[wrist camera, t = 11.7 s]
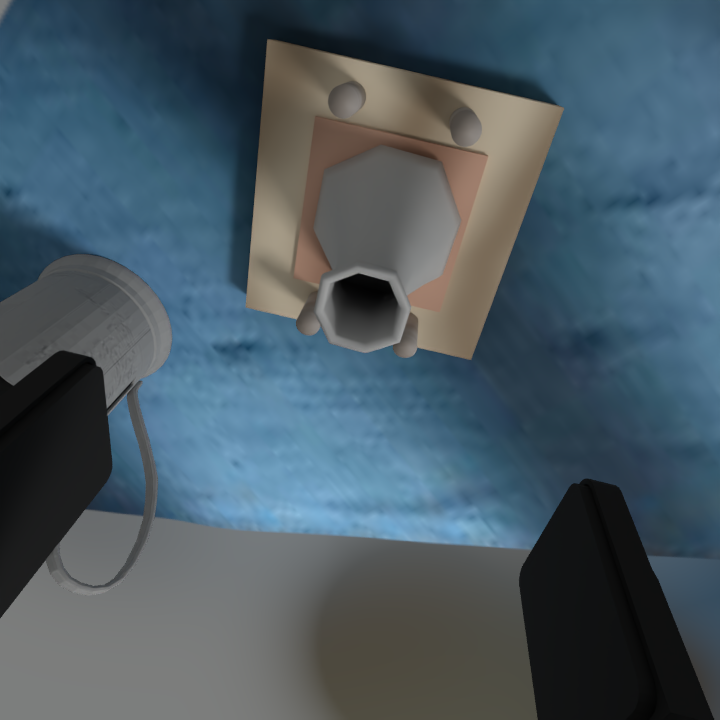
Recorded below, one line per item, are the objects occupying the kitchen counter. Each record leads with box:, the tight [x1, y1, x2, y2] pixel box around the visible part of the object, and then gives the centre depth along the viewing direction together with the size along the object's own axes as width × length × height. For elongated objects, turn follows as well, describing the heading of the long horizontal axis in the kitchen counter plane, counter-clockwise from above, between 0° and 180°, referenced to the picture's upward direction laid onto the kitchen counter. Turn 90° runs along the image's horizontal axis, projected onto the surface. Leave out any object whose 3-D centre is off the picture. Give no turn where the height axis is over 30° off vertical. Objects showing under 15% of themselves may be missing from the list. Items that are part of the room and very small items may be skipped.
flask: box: [313, 145, 461, 353], centre depth 21 cm, size 7×7×10 cm
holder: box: [0, 254, 172, 595], centre depth 26 cm, size 9×14×15 cm, turn 37°
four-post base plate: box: [246, 39, 564, 360], centre depth 25 cm, size 13×13×4 cm
